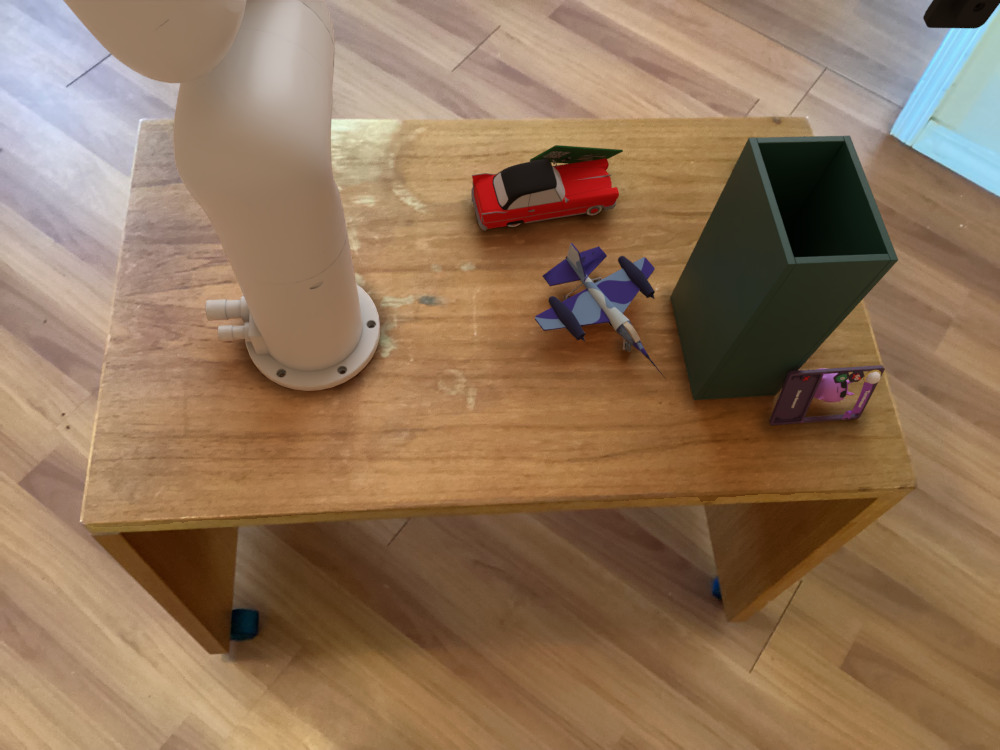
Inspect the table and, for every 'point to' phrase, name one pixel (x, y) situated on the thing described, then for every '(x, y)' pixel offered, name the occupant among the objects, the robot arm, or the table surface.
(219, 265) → the table surface
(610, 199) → the toy car
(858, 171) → the bin
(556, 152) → the business card
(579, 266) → the toy airplane
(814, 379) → the game card
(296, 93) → the robot arm
